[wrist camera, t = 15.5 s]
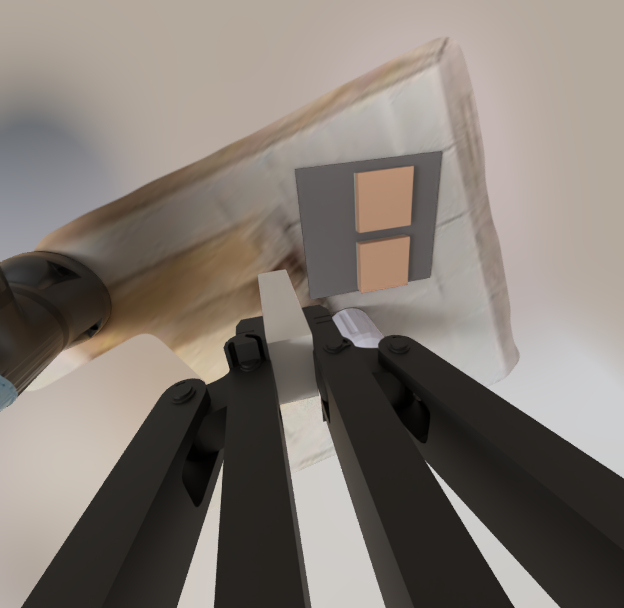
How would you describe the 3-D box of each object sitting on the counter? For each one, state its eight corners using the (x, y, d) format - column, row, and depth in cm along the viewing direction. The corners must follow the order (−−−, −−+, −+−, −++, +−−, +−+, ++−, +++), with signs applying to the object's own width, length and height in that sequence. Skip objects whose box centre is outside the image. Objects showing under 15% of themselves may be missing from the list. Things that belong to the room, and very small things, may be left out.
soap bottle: (374, 333, 60) (445, 428, 38) (336, 352, 60) (384, 458, 38) (360, 299, 55) (432, 385, 34) (319, 320, 56) (363, 419, 34)
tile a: (359, 233, 47) (410, 225, 48) (358, 173, 42) (413, 166, 44) (355, 230, 48) (404, 222, 50) (353, 172, 44) (407, 165, 45)
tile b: (361, 293, 52) (407, 284, 53) (360, 244, 47) (409, 236, 49) (357, 288, 53) (401, 280, 55) (355, 241, 49) (403, 234, 50)
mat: (310, 298, 53) (310, 299, 53) (294, 169, 43) (295, 169, 42) (428, 276, 56) (429, 277, 56) (439, 151, 46) (441, 151, 46)
